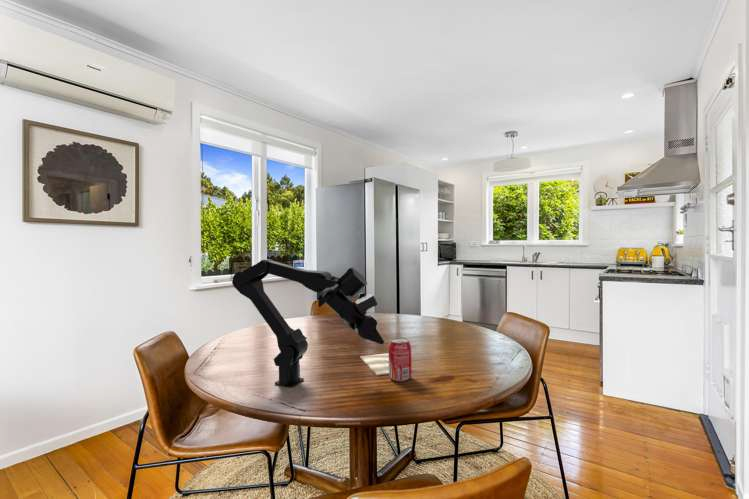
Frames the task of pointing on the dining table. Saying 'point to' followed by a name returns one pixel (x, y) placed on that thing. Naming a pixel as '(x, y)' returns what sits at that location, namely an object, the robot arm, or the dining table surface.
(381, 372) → the board
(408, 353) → the soda can
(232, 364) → the dining table surface
